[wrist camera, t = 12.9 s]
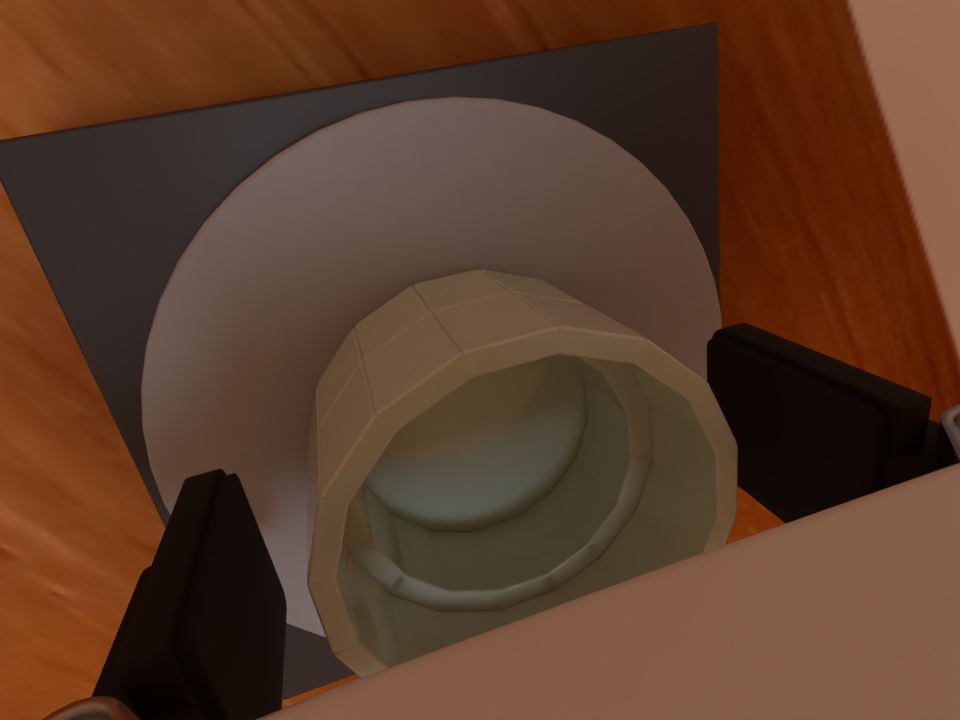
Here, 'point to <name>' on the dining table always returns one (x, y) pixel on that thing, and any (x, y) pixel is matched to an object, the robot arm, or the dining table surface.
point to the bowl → (500, 465)
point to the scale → (363, 245)
